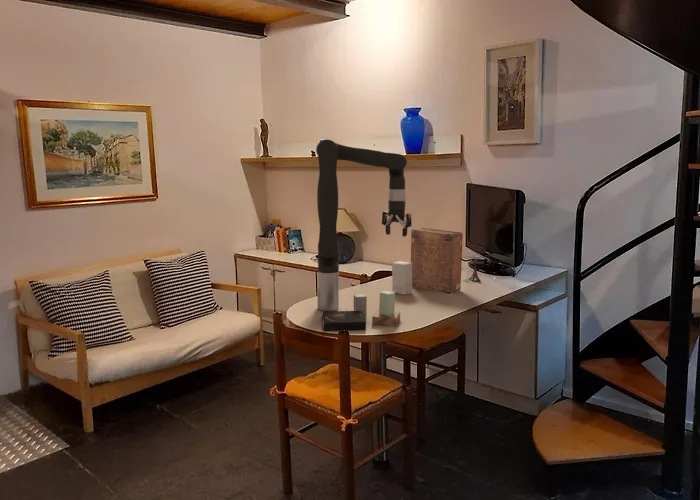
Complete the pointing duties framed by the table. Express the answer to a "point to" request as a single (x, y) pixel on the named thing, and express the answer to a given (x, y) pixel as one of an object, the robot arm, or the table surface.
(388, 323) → the walnut plinth
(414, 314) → the table surface
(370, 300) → the table surface
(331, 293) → the robot arm
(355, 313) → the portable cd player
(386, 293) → the sage pillar
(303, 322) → the table surface
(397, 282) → the skincare box
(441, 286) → the book
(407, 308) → the table surface
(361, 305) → the grey pillar
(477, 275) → the eiffel tower figurine
